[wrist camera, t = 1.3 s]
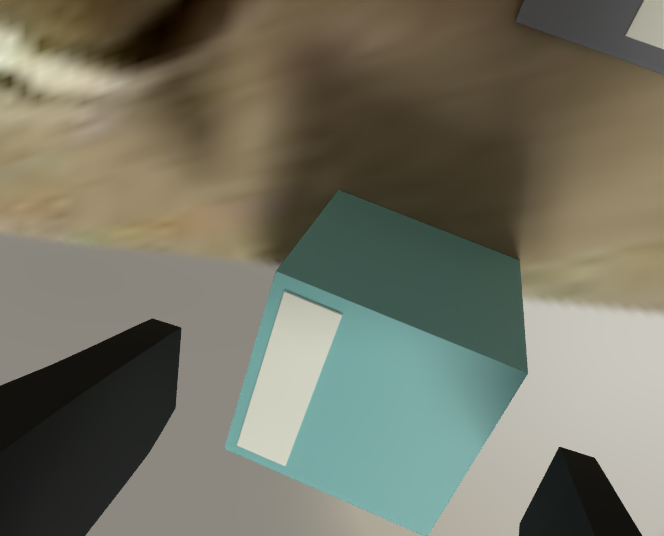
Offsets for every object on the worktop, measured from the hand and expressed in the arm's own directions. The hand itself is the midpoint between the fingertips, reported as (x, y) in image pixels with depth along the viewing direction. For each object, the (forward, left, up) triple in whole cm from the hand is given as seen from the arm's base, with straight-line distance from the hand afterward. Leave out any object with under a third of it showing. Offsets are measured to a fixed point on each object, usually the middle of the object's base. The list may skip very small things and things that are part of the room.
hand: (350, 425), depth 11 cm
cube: (0, 0, -5) cm, 5 cm away
